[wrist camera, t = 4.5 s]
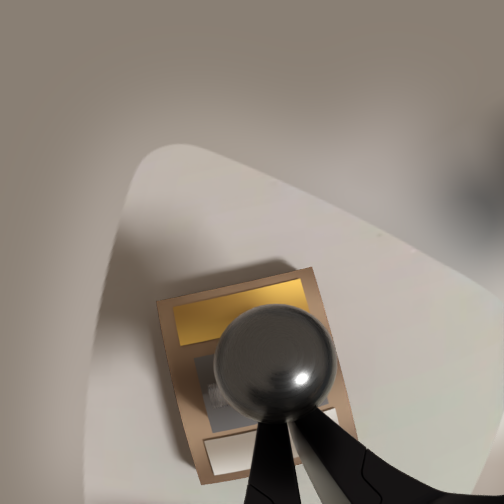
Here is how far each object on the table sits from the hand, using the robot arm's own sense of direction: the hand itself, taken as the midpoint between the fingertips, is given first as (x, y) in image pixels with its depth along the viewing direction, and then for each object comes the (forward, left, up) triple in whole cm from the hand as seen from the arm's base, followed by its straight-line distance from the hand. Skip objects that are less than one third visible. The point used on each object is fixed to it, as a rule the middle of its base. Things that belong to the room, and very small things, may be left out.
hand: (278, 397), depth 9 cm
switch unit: (0, 0, -11) cm, 11 cm away
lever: (0, 0, -5) cm, 5 cm away
